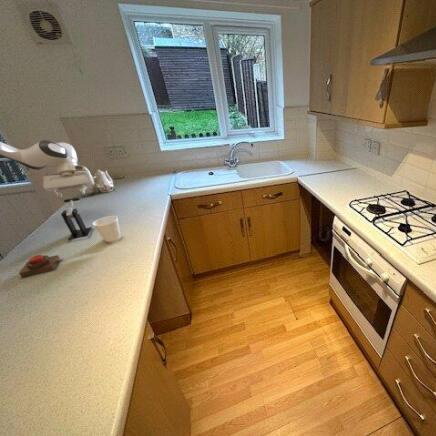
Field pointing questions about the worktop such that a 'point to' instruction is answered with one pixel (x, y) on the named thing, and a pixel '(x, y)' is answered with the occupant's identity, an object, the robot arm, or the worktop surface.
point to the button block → (40, 266)
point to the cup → (108, 228)
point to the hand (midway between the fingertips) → (71, 195)
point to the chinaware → (101, 183)
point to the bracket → (73, 230)
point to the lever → (69, 213)
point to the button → (36, 259)
